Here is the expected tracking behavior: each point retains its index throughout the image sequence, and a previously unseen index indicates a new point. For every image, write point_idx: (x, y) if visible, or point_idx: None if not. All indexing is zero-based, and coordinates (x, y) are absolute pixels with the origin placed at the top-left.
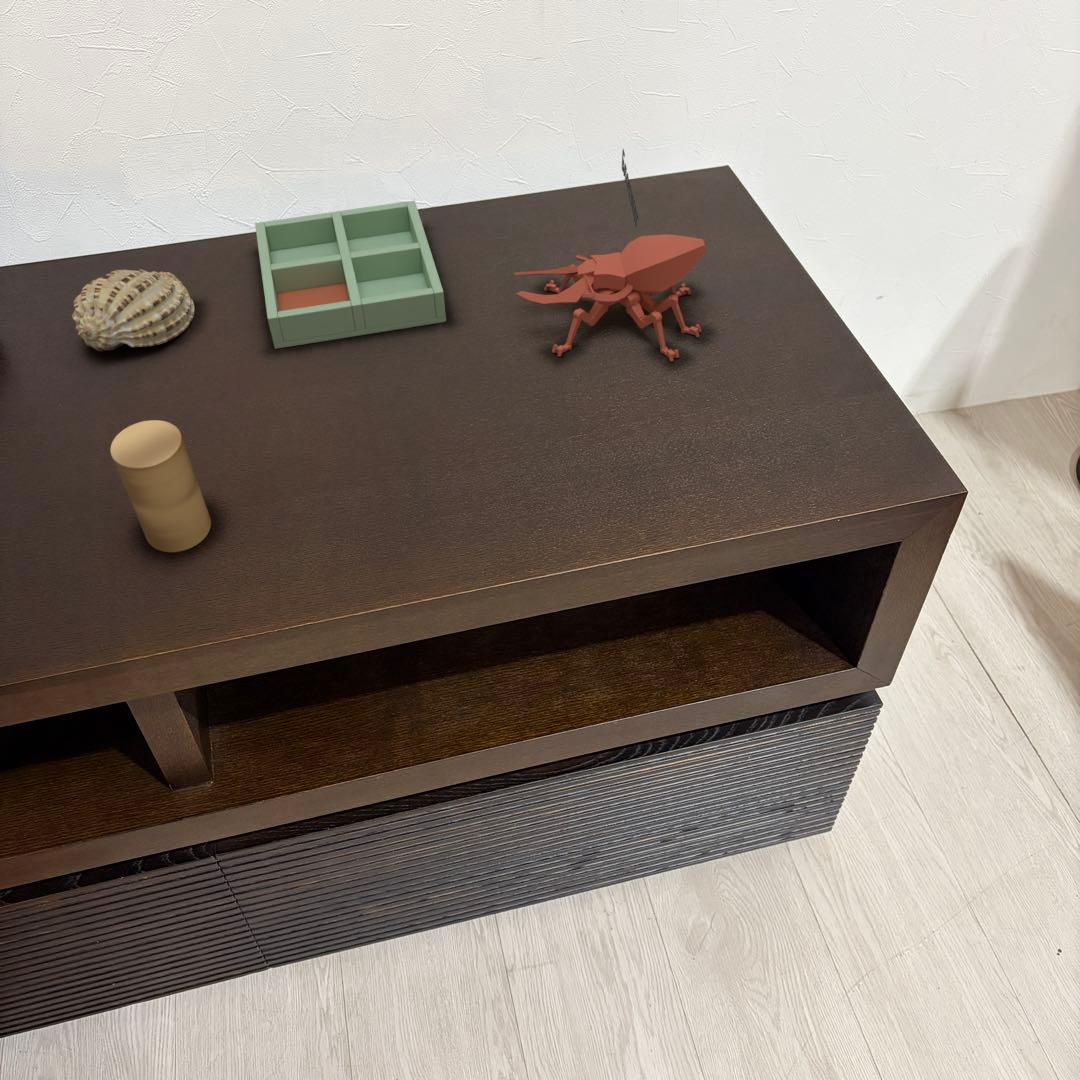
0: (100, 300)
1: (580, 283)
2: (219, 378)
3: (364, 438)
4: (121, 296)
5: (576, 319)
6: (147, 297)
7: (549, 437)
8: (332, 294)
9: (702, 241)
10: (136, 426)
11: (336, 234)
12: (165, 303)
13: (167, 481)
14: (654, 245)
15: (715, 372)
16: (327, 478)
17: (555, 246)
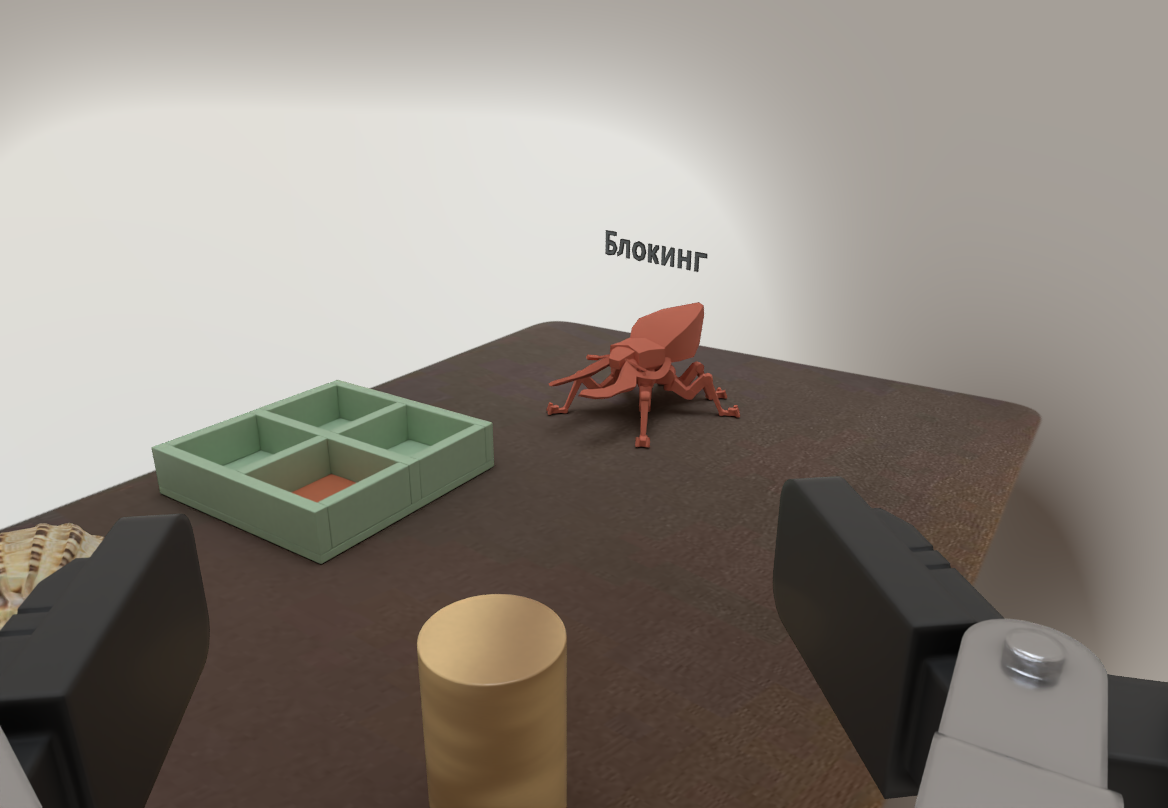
0: (11, 575)
1: (628, 367)
2: (280, 626)
3: (580, 589)
4: (51, 556)
5: (646, 402)
6: (91, 550)
7: (753, 501)
8: (331, 486)
9: (699, 303)
10: (434, 625)
11: (285, 424)
12: None
13: (565, 690)
14: (669, 314)
15: (780, 411)
16: (607, 648)
17: (503, 389)
